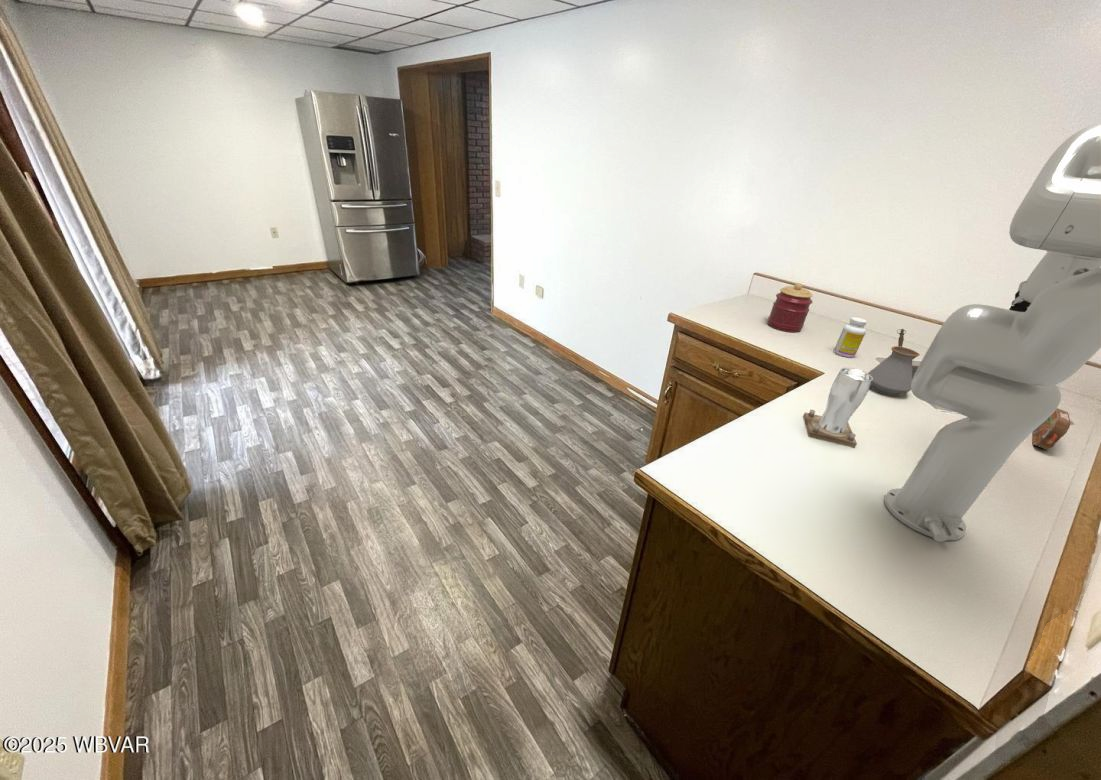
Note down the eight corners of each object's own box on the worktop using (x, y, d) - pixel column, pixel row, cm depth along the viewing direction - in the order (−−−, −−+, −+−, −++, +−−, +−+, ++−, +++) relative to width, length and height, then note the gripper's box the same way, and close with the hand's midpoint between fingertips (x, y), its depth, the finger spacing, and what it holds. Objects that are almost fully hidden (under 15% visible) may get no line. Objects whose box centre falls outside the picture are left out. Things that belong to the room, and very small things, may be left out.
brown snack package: (1032, 427, 116) (1052, 401, 112) (1048, 433, 114) (1069, 406, 110) (1031, 450, 106) (1054, 422, 102) (1049, 456, 104) (1072, 428, 100)
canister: (762, 319, 179) (776, 277, 170) (794, 322, 177) (810, 280, 169) (772, 330, 167) (787, 286, 158) (806, 334, 166) (824, 290, 157)
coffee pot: (909, 403, 123) (936, 356, 115) (863, 391, 128) (886, 345, 120) (902, 375, 139) (925, 332, 132) (861, 365, 144) (881, 323, 136)
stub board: (854, 447, 102) (859, 438, 101) (808, 436, 105) (812, 427, 103) (845, 425, 110) (850, 417, 109) (803, 416, 113) (807, 407, 111)
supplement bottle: (858, 358, 149) (875, 323, 142) (839, 357, 149) (855, 322, 142) (847, 350, 155) (862, 316, 148) (829, 349, 155) (844, 315, 148)
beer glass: (851, 437, 103) (879, 383, 95) (820, 432, 104) (846, 378, 96) (840, 422, 109) (866, 369, 101) (811, 417, 110) (834, 365, 102)
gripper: (1140, 259, 72) (1072, 351, 81) (1074, 242, 86) (1021, 322, 95) (1084, 253, 74) (1022, 343, 83) (1028, 237, 89) (980, 316, 97)
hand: (1022, 332), depth 89 cm, fingers open, 9 cm apart
